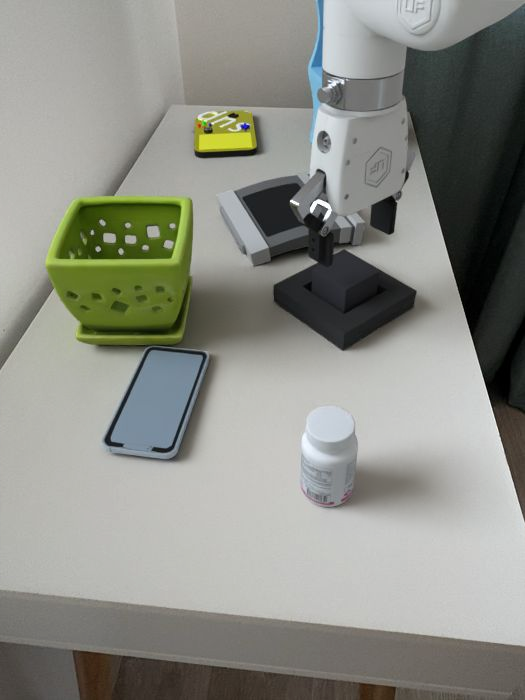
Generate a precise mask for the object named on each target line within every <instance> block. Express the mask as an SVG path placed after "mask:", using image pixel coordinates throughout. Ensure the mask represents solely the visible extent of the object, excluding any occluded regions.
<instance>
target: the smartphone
mask: <svg viewBox="0 0 525 700" xmlns="http://www.w3.org/2000/svg"><path fill="white" fill-rule="evenodd" d="M209 363H210V355H209V353H208V352H207V351H205V350H202V349H200V350H199V349H191V348H181V347H171V346H163V345H149V346H148V347H146V348H145V349H144V351H143V352H142V355H141V357H140V359H139V360H138V363H137V365H136V367H135V369H134V372H133V374H132V375H131V378H130V380H129V382H128V384H127V386H126V388H125V390H124V392H123V393H122V396H121V398H120V401H119V403H118V405H117V407H116V410H114V413H113V415H112V418H111V420H110V421H109V424H108V426H107V428H106V430H105V431H104V434H103V436H102V438H101V444H102V447H103V450H105V451H106V452H108V453H113V454H120V455H129V456H137V457H145V458H152V459H153V458H154V459H159V460H160V459H161V460H168V459H171V458H173V457H175V456H176V455H177V454H178V451H179V449H180V445H181V444H182V440H183V437H184V434H185V431H186V429H187V427H188V426H187V425H188V422H189V420H190V417H191V414H192V412H193V408H194V407H195V403H196V400H197V398H198V394H199V392H200V389H201V386H202V383H203V380H204V377H205V374H206V371H207V368H208V366H209Z"/></svg>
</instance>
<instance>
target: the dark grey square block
mask: <svg viewBox="0 0 525 700" xmlns="http://www.w3.org/2000/svg"><path fill="white" fill-rule="evenodd" d="M378 279H379V271H377V270H376V269H374V268H372V267H371V266H369V265H367V264H365V263H364V262H362V261H360V260H358V259H357V258H355V257H353V256H351V255H350V254H348V253H346V252H345V253H343V254H341V255H339V256H337V257H335V258H333V263H332V265H331V266H329V267H325V266H323V265H320V266H318V267H316V268H314V269H312V293H313V294H315V295H316V296H318V297H319V298H321V299H322V300H324V301H326V302H327V303H329V304H330V305H332V306H333V307H335V308H336V309H338V310H339V311H341V312H342V313H344V314H345V313H347V312H349V311H351V310H352V309H354V308H356V307H358V306H359V305H361V304H363V303H364V302H366V301H368V300H370V299H371V298H373V297H375V296H376V295H377V287H378Z"/></svg>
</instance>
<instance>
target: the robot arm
mask: <svg viewBox="0 0 525 700" xmlns="http://www.w3.org/2000/svg"><path fill="white" fill-rule="evenodd" d="M524 4H525V0H324V13H323V57H322V88H320V89H319V90H318V92H317V98H318V100H319V101H320V103H322V106H320V107H319V108H318V112H317V117H316V122H315V128H314V134H313V142H312V143H311V150H310V151H311V152H310V165H309V170H310V180H309V181H308V182H307V183H306V184H305V185H304V186H303V187H302V188H301V189H300V190H299V191H298V192H297V194H296V195H295V196H294V197H293V198H292V199H291V200H290V207H291V209H292V210H293V212H294V214H295V216H296V220H297V221H299V222H300V223H301V224H303V225H304V226H305V227H306V228H308V229H309V230H308V246H307V247H308V248H307V255H308V257H309V258H310V259H311V260H313V261H315V262H316V263H320V264H322V265H323V266H325V267H329V266H331V265H332V263H333V255H334V243H335V242H334V235H333V233H331V232H329V231H330V229H331V227H332V226H333V224H334V222H335V220H336V218H337V216H338V215H339V216H349V215H351V214H354V213H358V212H360V211H362V210H364V209H366V208H369V207H370V218H369V219H370V220H369V225H370V227H371V228H374V229H376V230H378V231H380V232H381V233H383V234H385V235H388V236H391V235H393V234H394V233H395V228H396V219H397V210H398V201H400V200H401V199H402V197H403V190H402V189H403V187H404V186H405V184H406V183H407V181H408V179H409V177H410V172H409V171H411V168H412V166H413V163H414V161H415V159H416V156H417V155H416V152H415V151H412V150H411V149H408V145H409V144H408V142H409V120H408V119H409V118H408V117H409V116H408V107H407V100H406V96H405V95H404V94H403V90H404V89H403V87H404V80H405V79H404V78H405V68H406V60H407V50H408V48H411V49H414V50H418V51H424V52H433V51H434V52H435V51H436V52H437V51H441V50H444V49H447V48H451V47H452V46H455V45H457V44H458V43H460V42H462V41H464V40H465V39H467V38H469V37H471V36H473V35H475V34H477V33H478V32H480V31H482V30H484V29H486V28H488V27H490V26H492V25H494V24H496V23H498V22H500V21H501V20H503V19H505V18H506V17H508V16H510V15H511V14H512V13H514V12H515V11H517V10H518V9H519V8H520V7H522V6H523V5H524ZM327 200H328V202H329V203H328V202H326V201H327ZM312 202H313V204H312V206H311V208H310V205H311V203H312ZM323 208H325V209H327V210H328V211H327V213H326V215H325V217H324V219H323V221H321V220H319V219H318V216H319V214H320V213H321V211H322V209H323Z"/></svg>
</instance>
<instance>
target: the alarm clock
mask: <svg viewBox="0 0 525 700" xmlns="http://www.w3.org/2000/svg"><path fill="white" fill-rule="evenodd" d="M309 180H310V169H309V170H308V173H307V172H301V173H300V172H299V173H297V174H295V175H287V176H286V175H285V176H281V177H275V178H271V179H267V180H262V181H260V182H256V183H253V184H250V185H247V186H245V187H241V188H239V189H236V190H234V189H233V188H230V189H228V190H225V191H222V192H220V193H217V194H216V198H217V202H218V206H219V207H218V209H219V212H220V215H221V217H222V219H223V221H224V222H225V224H226V226H227V228H228V230H229V232H230V233H231V235H232V237H233V239H234V240H235V242H236V244H237V245H238V247H239V250H240V251H241V253H242V254H246V256H247V257H248V259H249V261H250V263H251V265H252V267H256V266H258V265H259V266H260V265H263V264H264V263H268V262H270V261H271V258H272V257H275V256H277V255H278V256H279V255H281V254H284V253H287V252H291V251H295V250H298V249H299V250H300V249H302V248H306V247H308V230H309V229H308V228H306V227H305V226H304V225H303V224H301V223H300V222H299V221H297V220H296V216H295V214H294V212H293V210H292V209H291V207H290V200H291V199H292V198H293V197H294V196H295V195H296V194H297V192H298V191H299V190H300V189H301V188H302V187H303V186H304V185H305V184H306V183H307V182H308V181H309ZM326 202H328V200H327V201H326ZM328 203H329V202H328ZM312 204H313V202H312V203H311V205H310V208H311V206H312ZM327 211H328V210H327V209H325V208H323V209H322V211H321V213H320V214H319V216H318V219H319V220H321V221H323V219H324V217H325V215H326V213H327ZM365 226H366V221H365V220H364V219H363V218H362V217H361V216H360V215H359V214H358V212H356V213H354V214H351V215H349V216H339V215H338V216H337V218H336V220H335V222H334V224H333V226H332V227H331V229H330V231H329V232H331V233H333V235H334V243H339V244H344V243H345V244H347V243H350V244H351V245H352V246H361V245H362V241H363V236H364V230H365Z"/></svg>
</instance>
